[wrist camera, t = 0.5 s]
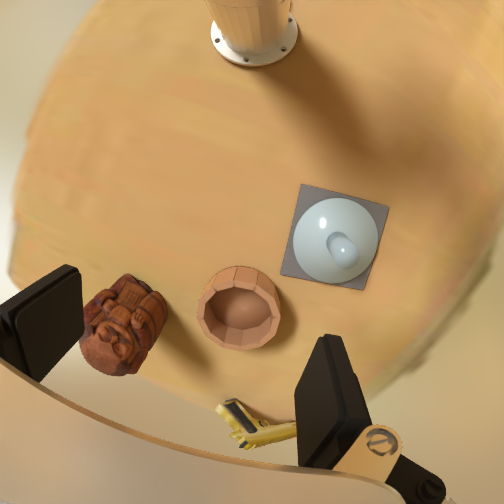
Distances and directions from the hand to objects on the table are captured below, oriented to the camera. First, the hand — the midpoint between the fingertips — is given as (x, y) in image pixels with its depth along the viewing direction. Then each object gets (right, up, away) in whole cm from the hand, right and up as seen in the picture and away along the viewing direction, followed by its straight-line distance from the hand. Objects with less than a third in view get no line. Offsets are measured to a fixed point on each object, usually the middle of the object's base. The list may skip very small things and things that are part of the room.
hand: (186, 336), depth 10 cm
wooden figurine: (-17, -5, +37) cm, 41 cm away
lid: (+15, +5, +31) cm, 35 cm away
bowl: (+1, -5, +36) cm, 36 cm away
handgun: (+5, -32, +45) cm, 56 cm away
